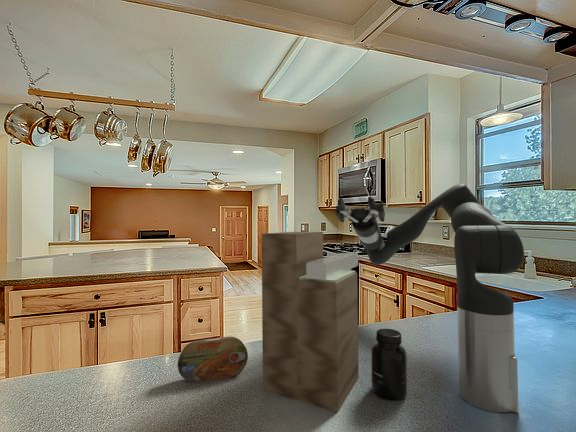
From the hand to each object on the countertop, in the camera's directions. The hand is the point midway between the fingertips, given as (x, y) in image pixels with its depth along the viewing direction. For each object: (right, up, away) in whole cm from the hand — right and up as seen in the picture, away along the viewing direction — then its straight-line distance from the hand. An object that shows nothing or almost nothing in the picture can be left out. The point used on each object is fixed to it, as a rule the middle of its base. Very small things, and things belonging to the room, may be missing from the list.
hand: (354, 199), depth 89 cm
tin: (-36, -41, -20) cm, 58 cm away
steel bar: (-9, -17, -21) cm, 28 cm away
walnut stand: (-14, -40, -23) cm, 49 cm away
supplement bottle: (+1, -40, -27) cm, 48 cm away
